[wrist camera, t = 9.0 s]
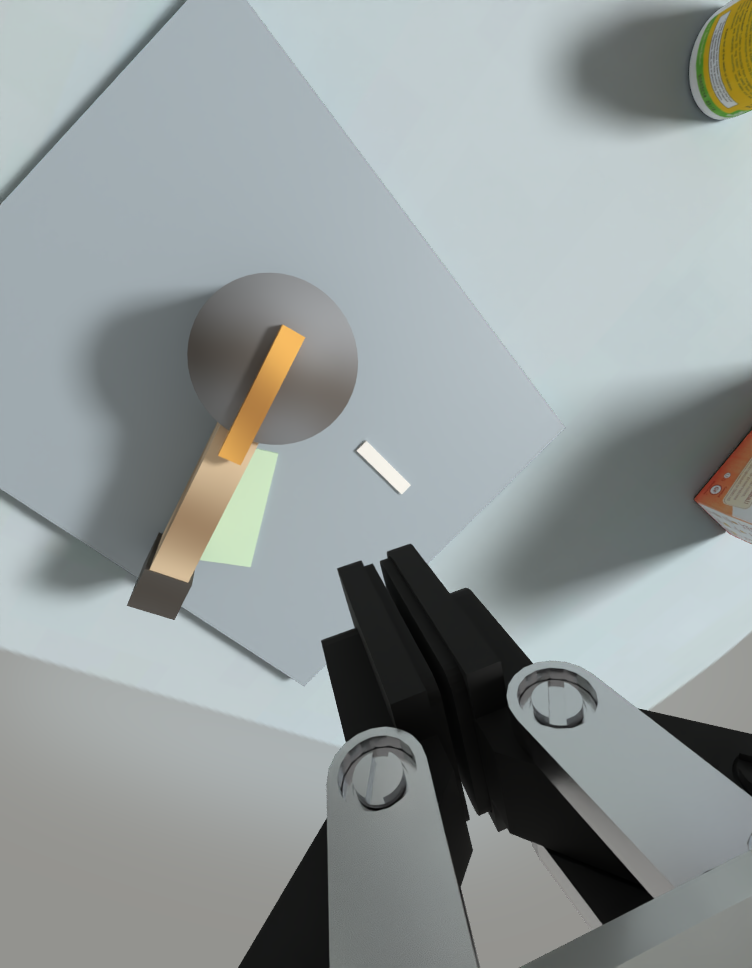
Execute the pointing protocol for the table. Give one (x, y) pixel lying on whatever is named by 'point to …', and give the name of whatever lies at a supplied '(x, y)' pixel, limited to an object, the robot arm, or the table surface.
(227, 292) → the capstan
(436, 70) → the table surface
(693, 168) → the table surface
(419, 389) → the board
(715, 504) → the cracker box
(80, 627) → the table surface
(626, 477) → the table surface
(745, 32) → the supplement bottle
